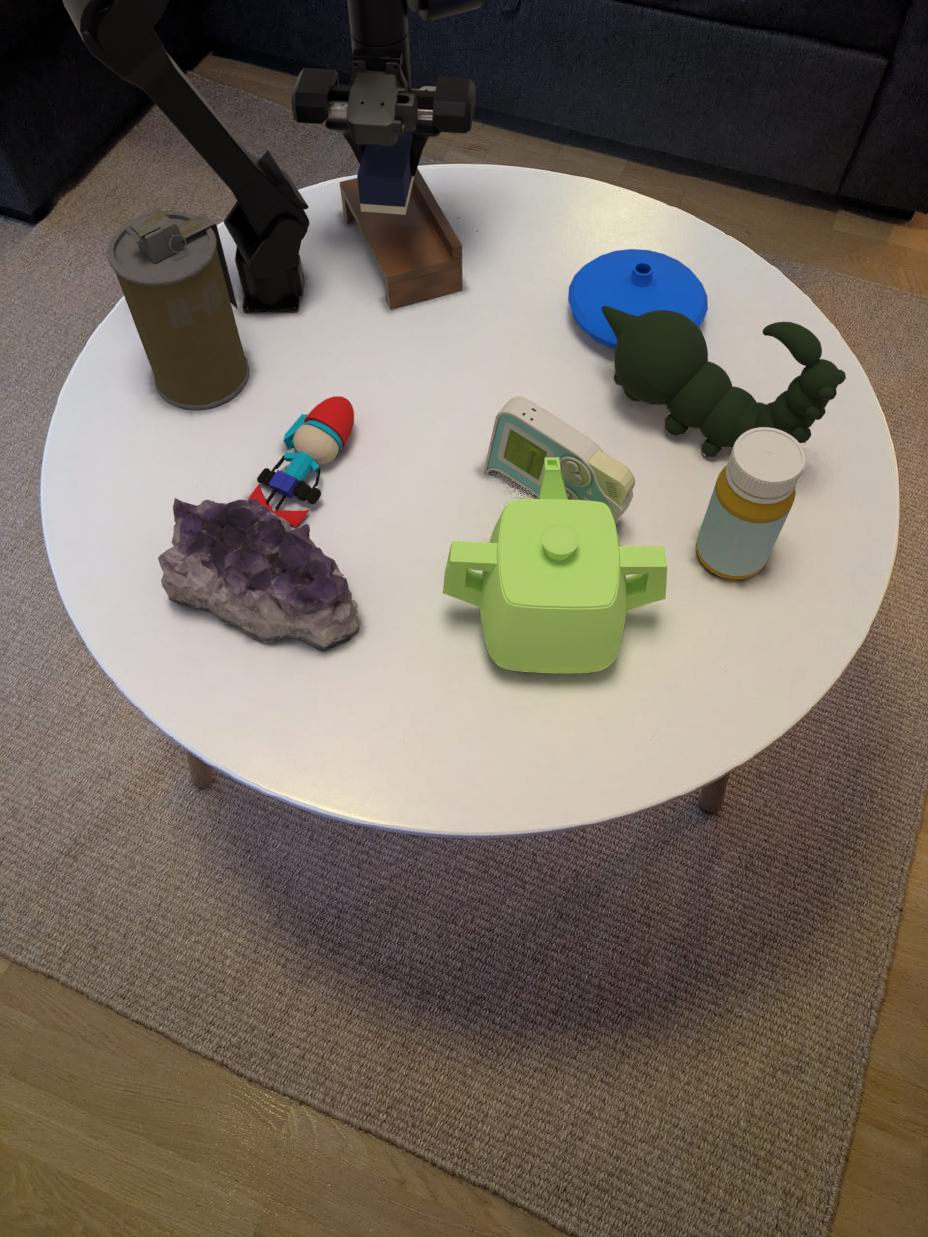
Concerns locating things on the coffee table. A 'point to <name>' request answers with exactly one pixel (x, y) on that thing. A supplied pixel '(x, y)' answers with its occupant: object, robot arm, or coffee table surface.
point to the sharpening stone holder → (409, 245)
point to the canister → (181, 306)
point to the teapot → (554, 581)
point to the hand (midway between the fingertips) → (389, 172)
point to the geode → (257, 574)
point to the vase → (633, 290)
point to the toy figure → (307, 455)
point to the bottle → (750, 503)
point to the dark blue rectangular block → (386, 177)
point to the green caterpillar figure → (715, 379)
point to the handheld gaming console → (539, 434)
